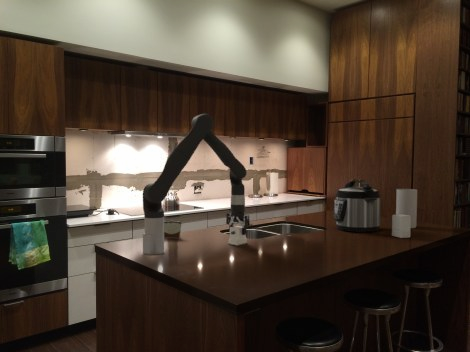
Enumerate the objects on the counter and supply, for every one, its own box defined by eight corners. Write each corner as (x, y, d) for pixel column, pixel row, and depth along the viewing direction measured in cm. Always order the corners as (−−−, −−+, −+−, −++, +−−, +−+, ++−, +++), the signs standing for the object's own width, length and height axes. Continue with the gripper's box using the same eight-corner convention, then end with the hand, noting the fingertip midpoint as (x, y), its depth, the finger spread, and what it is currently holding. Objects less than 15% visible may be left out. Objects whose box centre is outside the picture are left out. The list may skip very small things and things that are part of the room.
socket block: (237, 246, 202) (237, 240, 201) (228, 244, 205) (228, 238, 205) (246, 243, 208) (246, 237, 207) (238, 241, 211) (238, 236, 211)
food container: (184, 236, 226) (184, 219, 226) (182, 238, 220) (182, 220, 220) (163, 235, 228) (163, 218, 227) (160, 237, 221) (160, 220, 221)
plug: (236, 245, 201) (236, 229, 201) (227, 243, 205) (227, 227, 204) (245, 242, 207) (245, 227, 206) (237, 241, 211) (237, 225, 210)
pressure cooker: (336, 224, 269) (336, 178, 268) (379, 226, 260) (380, 179, 258) (331, 231, 241) (332, 180, 240) (380, 235, 232) (381, 182, 230)
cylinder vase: (391, 225, 264) (392, 189, 263) (406, 224, 268) (407, 188, 266) (404, 229, 252) (405, 190, 251) (420, 228, 256) (421, 190, 255)
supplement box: (410, 237, 226) (411, 215, 225) (400, 238, 223) (401, 216, 223) (401, 234, 233) (401, 213, 232) (391, 235, 230) (391, 214, 230)
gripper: (223, 202, 207) (222, 233, 208) (243, 205, 198) (243, 236, 199) (232, 201, 213) (232, 231, 214) (252, 203, 204) (252, 234, 204)
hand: (237, 233), depth 206 cm, fingers open, 8 cm apart
